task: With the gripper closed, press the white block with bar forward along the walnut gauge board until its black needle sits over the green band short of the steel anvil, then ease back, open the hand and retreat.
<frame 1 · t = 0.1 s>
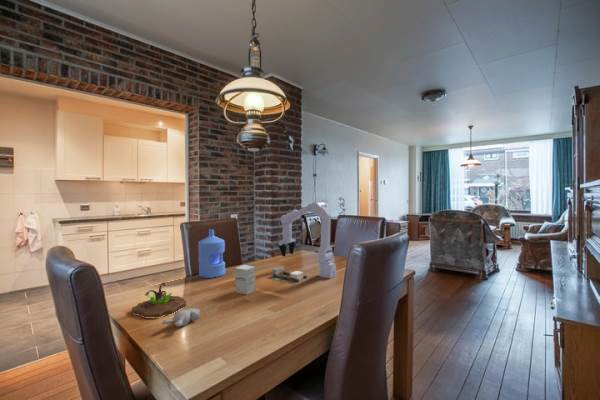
hand: (287, 254, 181), 10 cm above the table, tool pointing down, fingers open, 7 cm apart
bunny figurine: (183, 324, 110), on the table
water jug: (212, 275, 175), on the table
supplement box: (245, 292, 144), on the table
gauge board: (288, 280, 161), on the table
plant: (161, 309, 125), on the table
white block with bar: (294, 276, 158), point 3 cm above the table, slide at 0.0 cm
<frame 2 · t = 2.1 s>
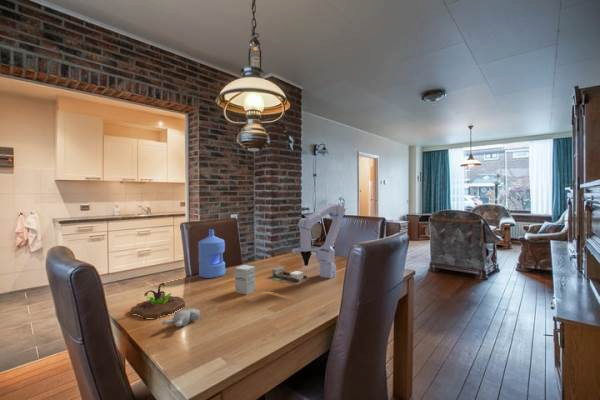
hand: (306, 265, 155), 10 cm above the table, tool pointing down, fingers closed
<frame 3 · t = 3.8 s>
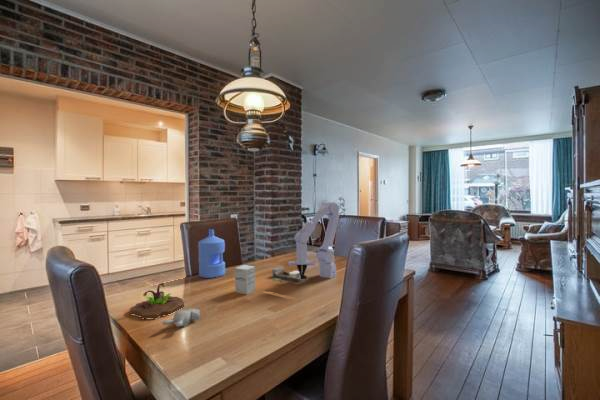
hand: (302, 278, 157), 2 cm above the table, tool pointing down, fingers closed
white block with bar: (293, 276, 158), point 3 cm above the table, slide at 0.8 cm, touching gripper
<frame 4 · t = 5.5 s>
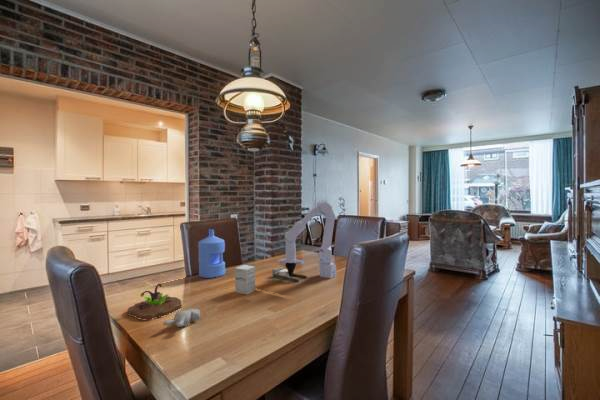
hand: (291, 276, 162), 2 cm above the table, tool pointing down, fingers closed
white block with bar: (282, 274, 162), point 3 cm above the table, slide at 8.2 cm, touching gripper
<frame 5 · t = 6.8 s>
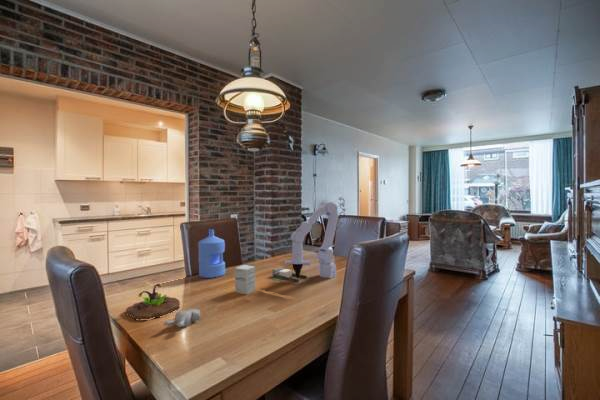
hand: (298, 277, 159), 2 cm above the table, tool pointing down, fingers closed
white block with bar: (282, 274, 162), point 3 cm above the table, slide at 8.2 cm
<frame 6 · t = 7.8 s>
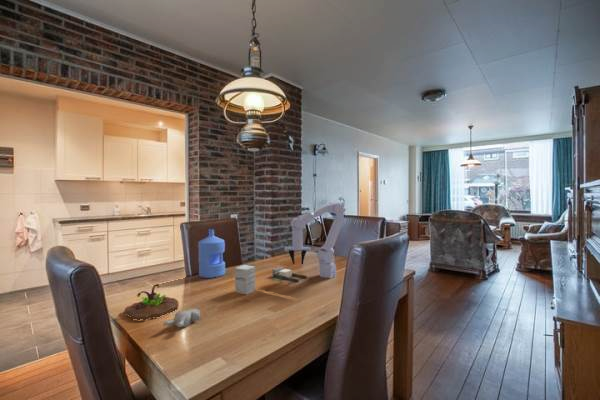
hand: (297, 263, 159), 10 cm above the table, tool pointing down, fingers open, 4 cm apart
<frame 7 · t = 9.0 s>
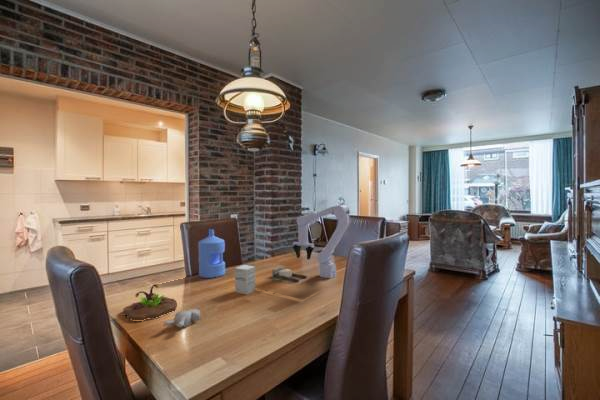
hand: (303, 258, 172), 10 cm above the table, tool pointing down, fingers open, 7 cm apart
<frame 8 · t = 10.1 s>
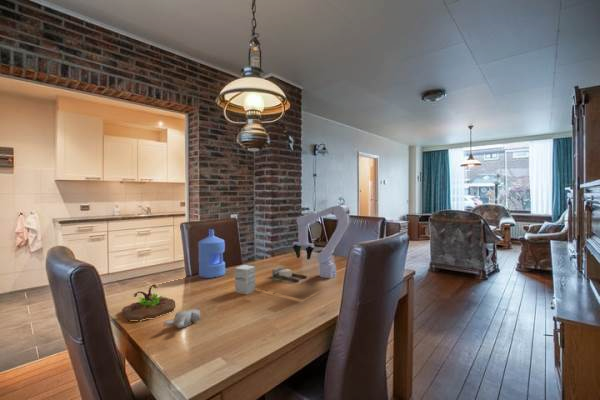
hand: (303, 258, 172), 10 cm above the table, tool pointing down, fingers open, 7 cm apart
at the end: white block with bar slide at 8.2 cm; white block with bar touching nothing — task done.
